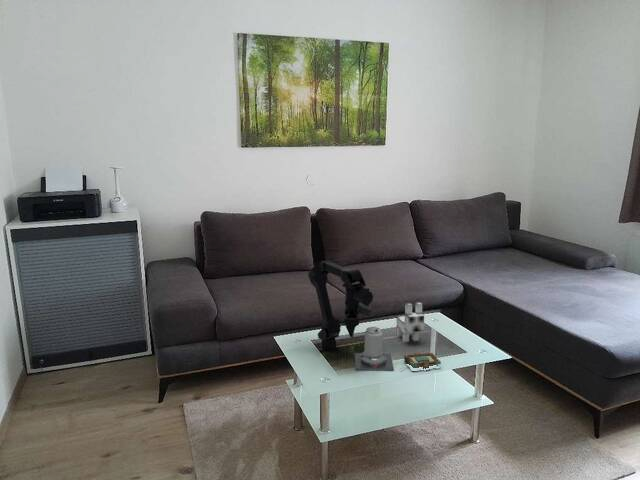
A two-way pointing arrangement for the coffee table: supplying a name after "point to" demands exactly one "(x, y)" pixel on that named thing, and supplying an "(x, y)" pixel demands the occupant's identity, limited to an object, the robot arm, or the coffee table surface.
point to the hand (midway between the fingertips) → (351, 332)
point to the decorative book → (421, 360)
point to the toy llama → (410, 323)
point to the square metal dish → (373, 362)
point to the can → (373, 342)
